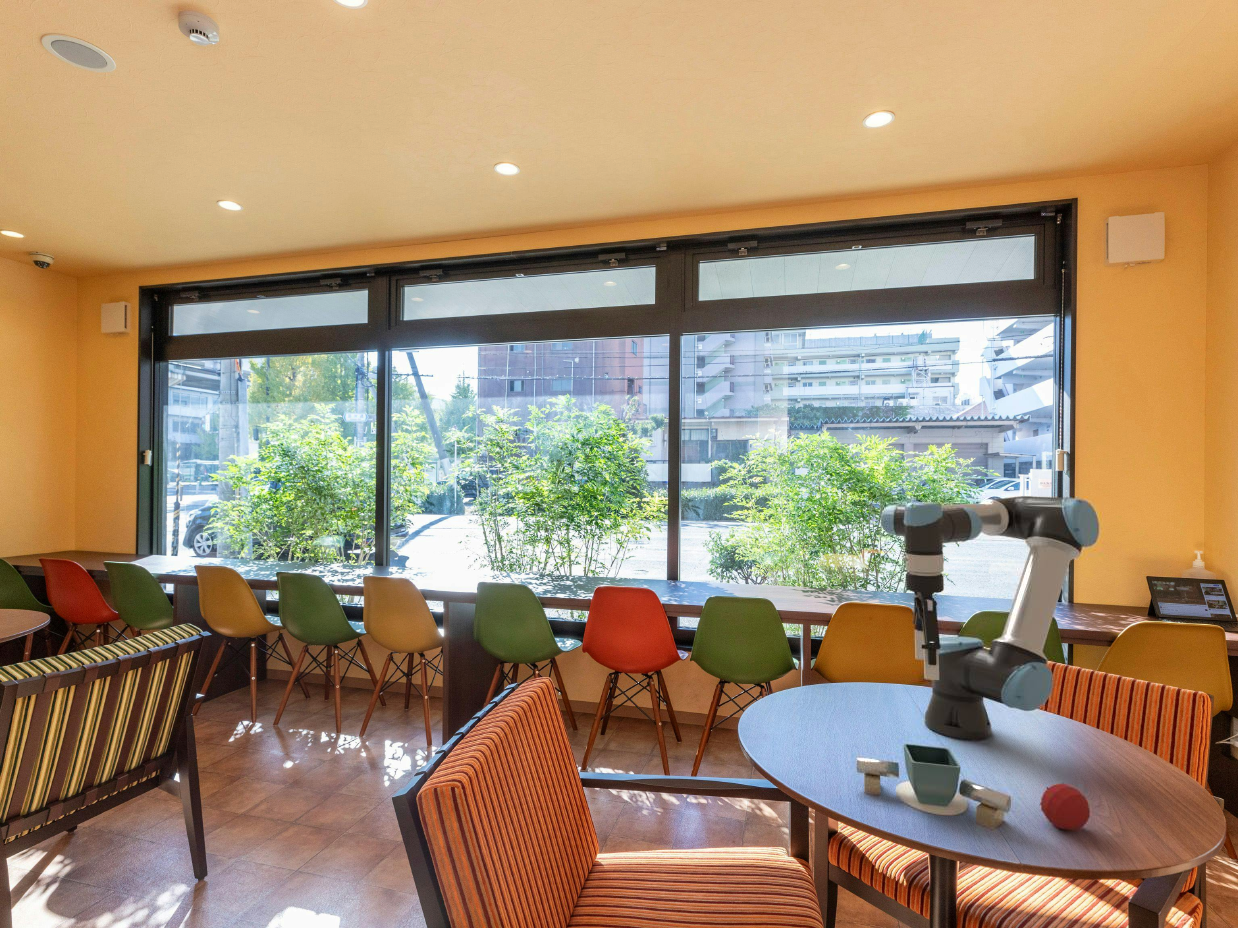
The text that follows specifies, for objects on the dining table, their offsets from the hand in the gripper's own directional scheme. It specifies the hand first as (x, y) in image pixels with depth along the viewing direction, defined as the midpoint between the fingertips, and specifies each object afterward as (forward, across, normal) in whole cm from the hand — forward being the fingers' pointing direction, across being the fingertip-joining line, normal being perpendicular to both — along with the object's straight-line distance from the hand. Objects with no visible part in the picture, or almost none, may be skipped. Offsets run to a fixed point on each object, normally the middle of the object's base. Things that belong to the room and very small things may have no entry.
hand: (926, 668), depth 141 cm
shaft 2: (+22, +19, +7) cm, 30 cm away
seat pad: (+22, +13, -2) cm, 26 cm away
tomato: (+23, +16, +20) cm, 35 cm away
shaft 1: (+22, +13, -12) cm, 28 cm away
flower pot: (+22, +15, -2) cm, 26 cm away
